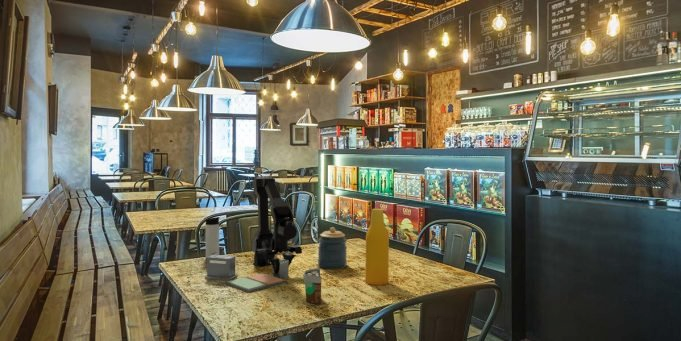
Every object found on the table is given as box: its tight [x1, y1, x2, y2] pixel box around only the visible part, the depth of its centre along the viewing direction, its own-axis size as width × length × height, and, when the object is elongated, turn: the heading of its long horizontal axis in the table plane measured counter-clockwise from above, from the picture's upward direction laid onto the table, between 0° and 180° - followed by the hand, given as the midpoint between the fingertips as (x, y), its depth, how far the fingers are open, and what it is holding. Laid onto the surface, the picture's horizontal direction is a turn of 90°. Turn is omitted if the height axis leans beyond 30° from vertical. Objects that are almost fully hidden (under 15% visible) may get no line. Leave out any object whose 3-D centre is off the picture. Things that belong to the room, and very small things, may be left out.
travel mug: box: [205, 216, 220, 260], centre depth 223 cm, size 6×7×20 cm
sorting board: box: [224, 272, 288, 293], centre depth 182 cm, size 18×16×1 cm
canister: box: [317, 226, 348, 270], centre depth 210 cm, size 13×13×18 cm
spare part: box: [272, 257, 290, 279], centre depth 192 cm, size 5×5×7 cm
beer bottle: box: [364, 208, 390, 286], centre depth 184 cm, size 9×9×29 cm
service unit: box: [204, 254, 239, 281], centre depth 190 cm, size 7×11×8 cm, turn 76°
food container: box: [302, 267, 322, 306], centre depth 161 cm, size 12×6×10 cm, turn 5°
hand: (280, 272), depth 192 cm, fingers closed on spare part, 4 cm apart
